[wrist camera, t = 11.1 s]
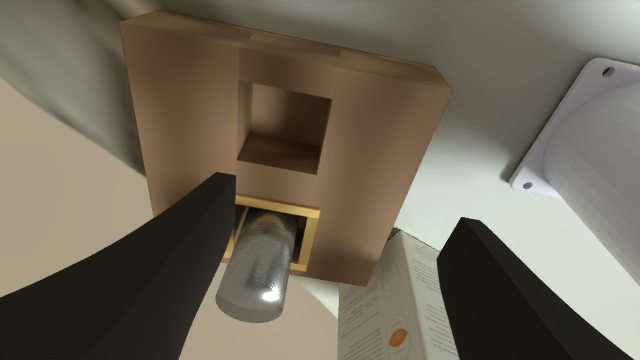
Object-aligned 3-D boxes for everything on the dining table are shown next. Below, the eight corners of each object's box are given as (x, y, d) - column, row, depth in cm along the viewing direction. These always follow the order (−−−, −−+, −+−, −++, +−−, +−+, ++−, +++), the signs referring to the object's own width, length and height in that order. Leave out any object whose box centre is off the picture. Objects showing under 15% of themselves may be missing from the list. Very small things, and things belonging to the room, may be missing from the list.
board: (434, 66, 16) (453, 92, 13) (364, 248, 24) (366, 289, 21) (160, 9, 16) (115, 23, 13) (182, 216, 24) (158, 254, 21)
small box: (388, 305, 29) (405, 455, 20) (337, 281, 27) (332, 432, 19) (456, 258, 24) (514, 422, 16) (400, 226, 23) (431, 388, 14)
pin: (306, 184, 21) (287, 291, 14) (297, 219, 22) (277, 327, 16) (257, 173, 20) (216, 277, 14) (252, 210, 22) (214, 316, 16)
